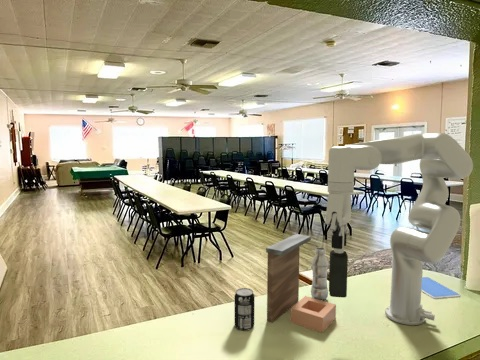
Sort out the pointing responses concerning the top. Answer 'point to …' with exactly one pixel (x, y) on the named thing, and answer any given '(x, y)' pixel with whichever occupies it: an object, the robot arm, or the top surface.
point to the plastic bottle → (319, 275)
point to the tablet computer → (436, 289)
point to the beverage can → (244, 309)
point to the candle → (338, 271)
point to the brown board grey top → (283, 275)
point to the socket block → (313, 313)
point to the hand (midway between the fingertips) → (338, 246)
